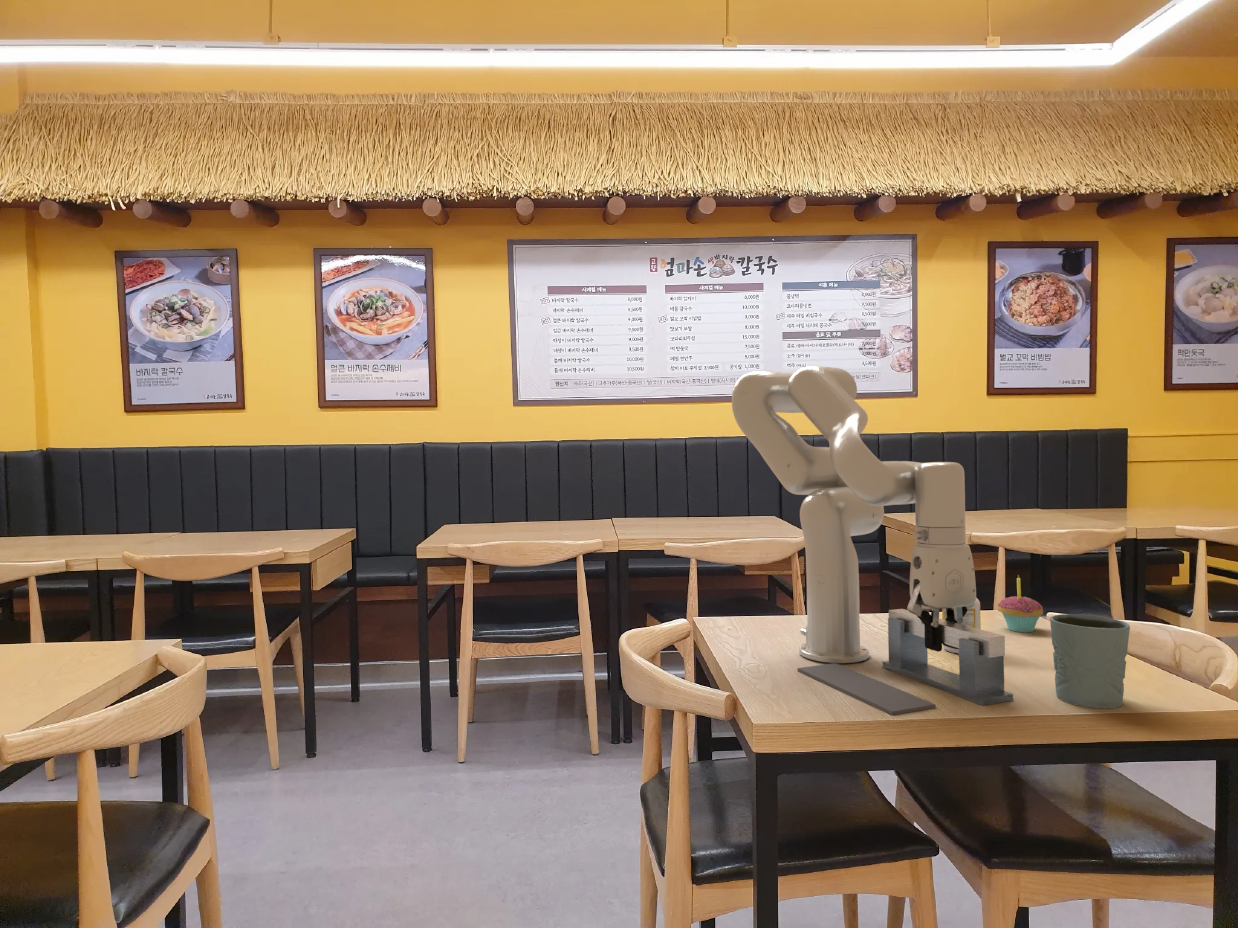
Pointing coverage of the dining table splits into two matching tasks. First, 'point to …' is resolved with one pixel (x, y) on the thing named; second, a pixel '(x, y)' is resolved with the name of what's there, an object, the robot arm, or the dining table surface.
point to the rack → (975, 677)
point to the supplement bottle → (968, 621)
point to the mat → (867, 689)
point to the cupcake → (1020, 611)
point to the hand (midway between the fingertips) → (942, 647)
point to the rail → (954, 633)
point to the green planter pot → (1089, 659)
